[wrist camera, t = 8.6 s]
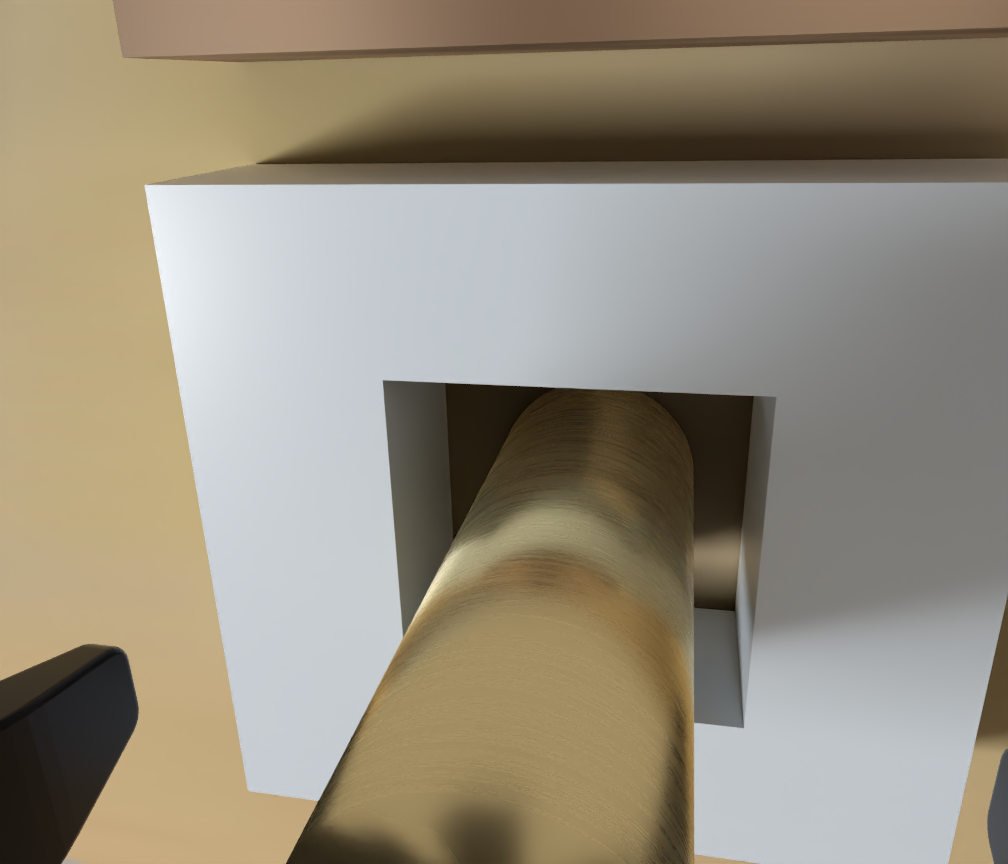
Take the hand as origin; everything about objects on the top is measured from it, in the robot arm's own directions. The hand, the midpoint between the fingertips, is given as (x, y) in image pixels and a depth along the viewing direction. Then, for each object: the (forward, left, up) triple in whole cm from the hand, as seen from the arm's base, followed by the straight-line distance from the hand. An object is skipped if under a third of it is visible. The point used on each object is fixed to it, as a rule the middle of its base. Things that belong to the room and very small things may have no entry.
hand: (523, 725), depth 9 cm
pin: (0, 0, -6) cm, 6 cm away
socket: (0, 0, -6) cm, 6 cm away
